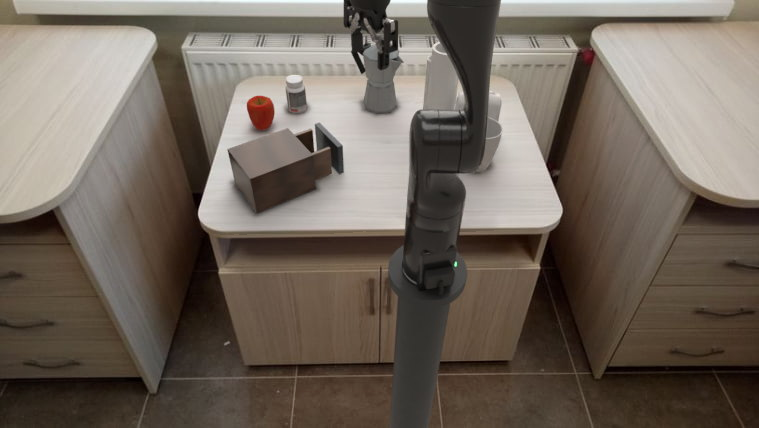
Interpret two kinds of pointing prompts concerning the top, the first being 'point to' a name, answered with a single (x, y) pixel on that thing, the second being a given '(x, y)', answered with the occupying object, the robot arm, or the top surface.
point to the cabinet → (272, 169)
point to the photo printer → (493, 104)
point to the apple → (261, 112)
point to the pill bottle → (296, 94)
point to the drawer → (323, 150)
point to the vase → (440, 81)
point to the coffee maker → (378, 79)
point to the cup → (491, 142)
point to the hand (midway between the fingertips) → (369, 59)
